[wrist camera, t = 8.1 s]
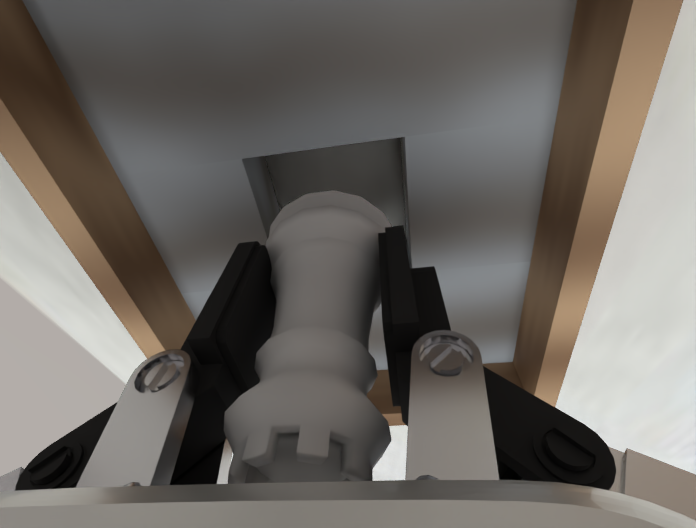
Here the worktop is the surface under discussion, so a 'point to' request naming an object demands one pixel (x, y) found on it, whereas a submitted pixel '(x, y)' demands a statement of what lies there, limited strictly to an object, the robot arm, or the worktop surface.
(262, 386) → the rook chess piece
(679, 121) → the worktop surface
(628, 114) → the open box
